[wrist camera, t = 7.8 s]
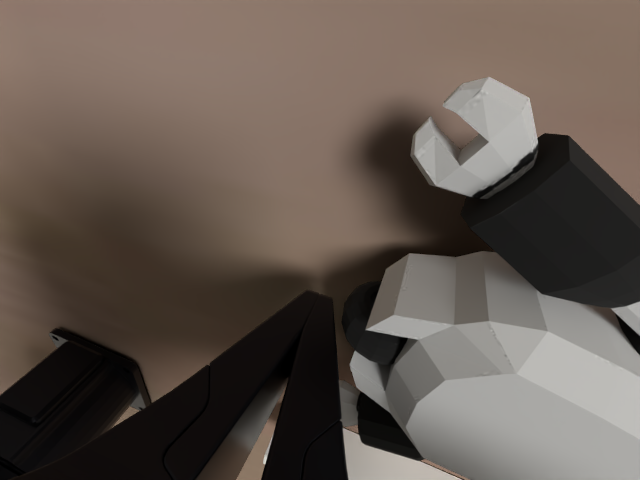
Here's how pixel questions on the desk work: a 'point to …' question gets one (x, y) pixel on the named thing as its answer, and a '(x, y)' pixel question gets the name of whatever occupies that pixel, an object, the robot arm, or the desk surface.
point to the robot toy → (507, 312)
